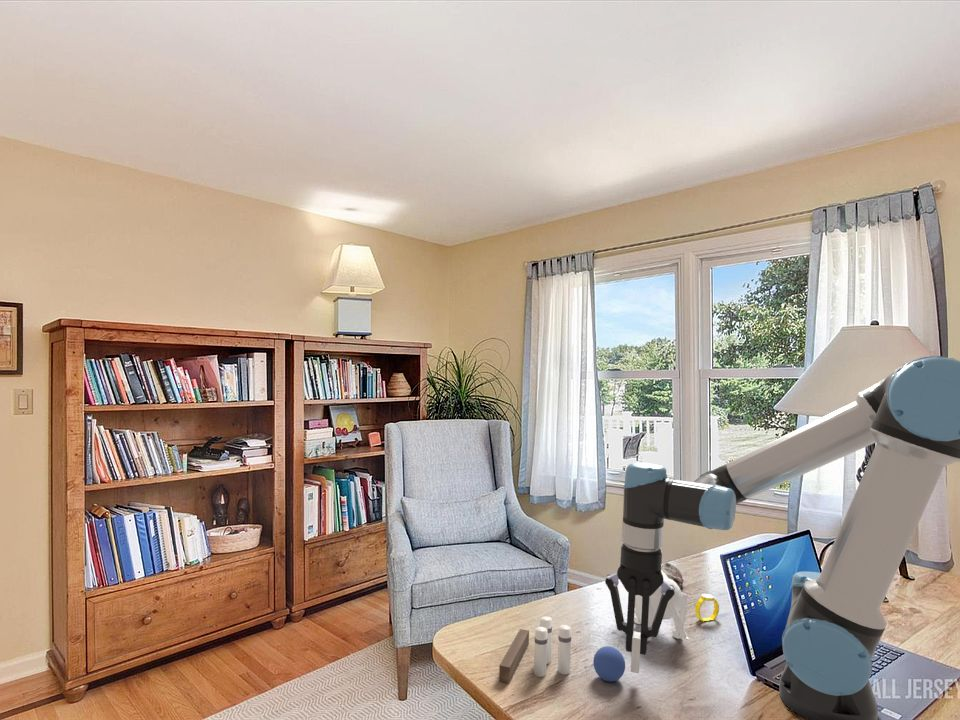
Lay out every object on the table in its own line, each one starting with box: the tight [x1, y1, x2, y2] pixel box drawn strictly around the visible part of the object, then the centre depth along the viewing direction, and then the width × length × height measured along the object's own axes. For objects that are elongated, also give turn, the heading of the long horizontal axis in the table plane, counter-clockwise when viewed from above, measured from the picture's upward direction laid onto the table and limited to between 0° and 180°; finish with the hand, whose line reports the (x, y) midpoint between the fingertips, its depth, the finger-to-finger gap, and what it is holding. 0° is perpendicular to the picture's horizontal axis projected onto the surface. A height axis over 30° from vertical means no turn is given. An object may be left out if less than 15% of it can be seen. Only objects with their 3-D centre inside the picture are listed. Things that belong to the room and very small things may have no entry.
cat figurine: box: [617, 562, 690, 642], centre depth 129 cm, size 25×10×17 cm, turn 15°
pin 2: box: [533, 626, 548, 678], centre depth 111 cm, size 2×2×8 cm
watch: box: [694, 593, 720, 623], centre depth 136 cm, size 6×3×6 cm, turn 108°
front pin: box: [557, 624, 572, 676], centre depth 112 cm, size 2×2×8 cm
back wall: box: [498, 628, 530, 684], centre depth 115 cm, size 2×16×3 cm, turn 162°
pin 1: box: [539, 616, 553, 665], centre depth 115 cm, size 2×2×8 cm
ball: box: [592, 645, 626, 682], centre depth 109 cm, size 6×6×6 cm
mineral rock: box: [661, 562, 684, 589], centre depth 158 cm, size 15×8×4 cm, turn 140°
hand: (635, 668), depth 108 cm, fingers closed
